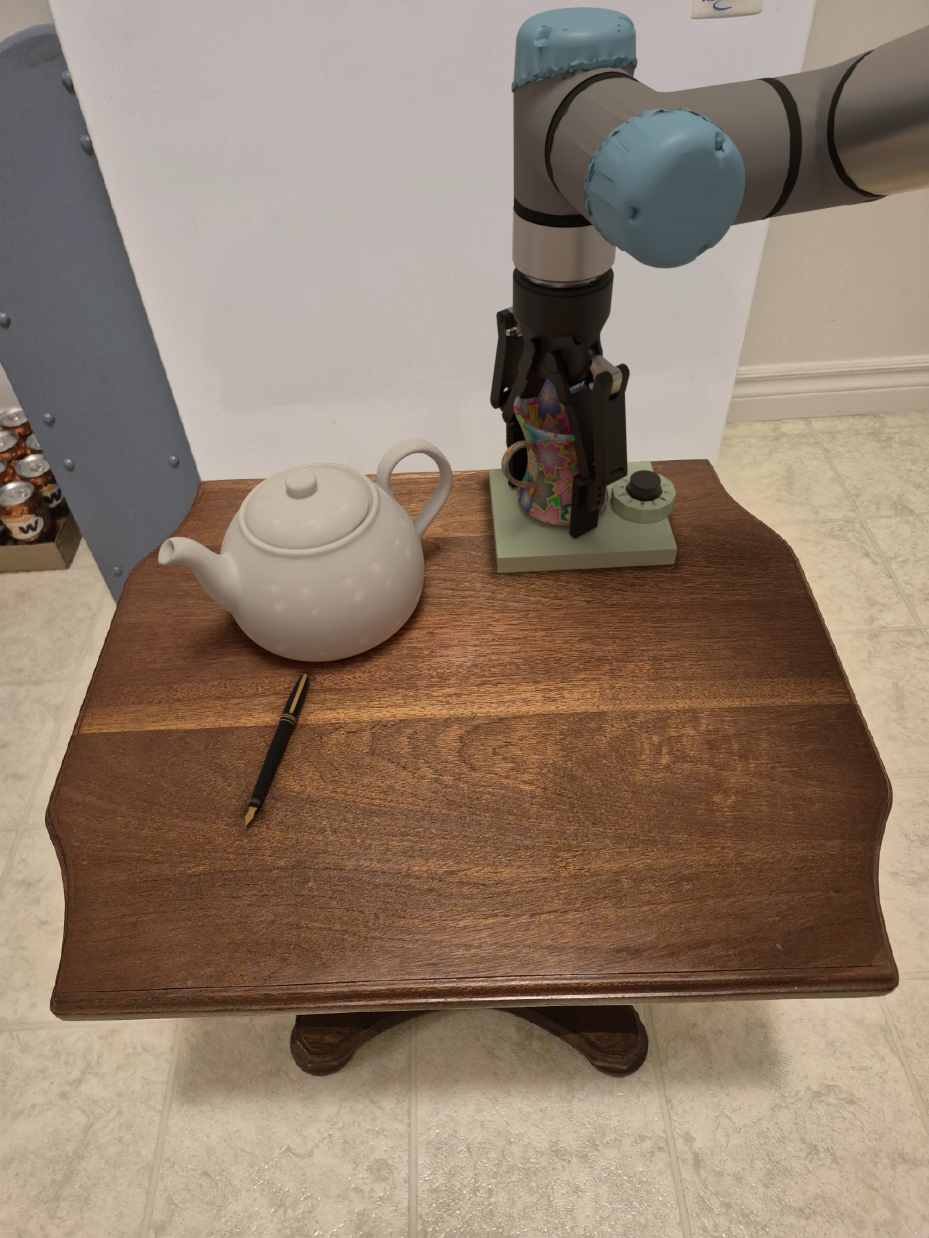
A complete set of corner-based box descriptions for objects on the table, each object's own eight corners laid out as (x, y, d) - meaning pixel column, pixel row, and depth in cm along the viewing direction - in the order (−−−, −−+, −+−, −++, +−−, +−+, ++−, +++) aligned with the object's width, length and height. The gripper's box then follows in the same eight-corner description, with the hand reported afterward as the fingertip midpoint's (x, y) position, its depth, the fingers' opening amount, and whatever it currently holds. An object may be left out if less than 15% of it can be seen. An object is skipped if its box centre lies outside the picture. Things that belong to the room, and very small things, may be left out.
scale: (656, 475, 85) (661, 446, 83) (683, 563, 76) (690, 534, 74) (489, 484, 85) (488, 455, 83) (497, 573, 76) (497, 544, 74)
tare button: (655, 482, 79) (657, 469, 78) (661, 501, 77) (663, 487, 76) (625, 484, 79) (627, 470, 78) (631, 502, 77) (632, 489, 76)
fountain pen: (254, 834, 59) (250, 823, 58) (239, 831, 59) (233, 821, 58) (315, 676, 69) (312, 665, 68) (301, 675, 69) (298, 663, 68)
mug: (563, 460, 84) (569, 364, 76) (632, 505, 79) (646, 406, 71) (470, 511, 79) (467, 414, 72) (537, 562, 74) (541, 464, 66)
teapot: (403, 694, 67) (386, 570, 57) (192, 658, 70) (140, 535, 61) (459, 541, 79) (452, 416, 69) (276, 516, 83) (245, 395, 73)
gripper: (705, 304, 58) (660, 549, 74) (516, 209, 70) (514, 438, 87) (623, 338, 55) (596, 585, 72) (441, 233, 67) (454, 465, 84)
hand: (551, 504), depth 79 cm, fingers closed on mug, 8 cm apart
